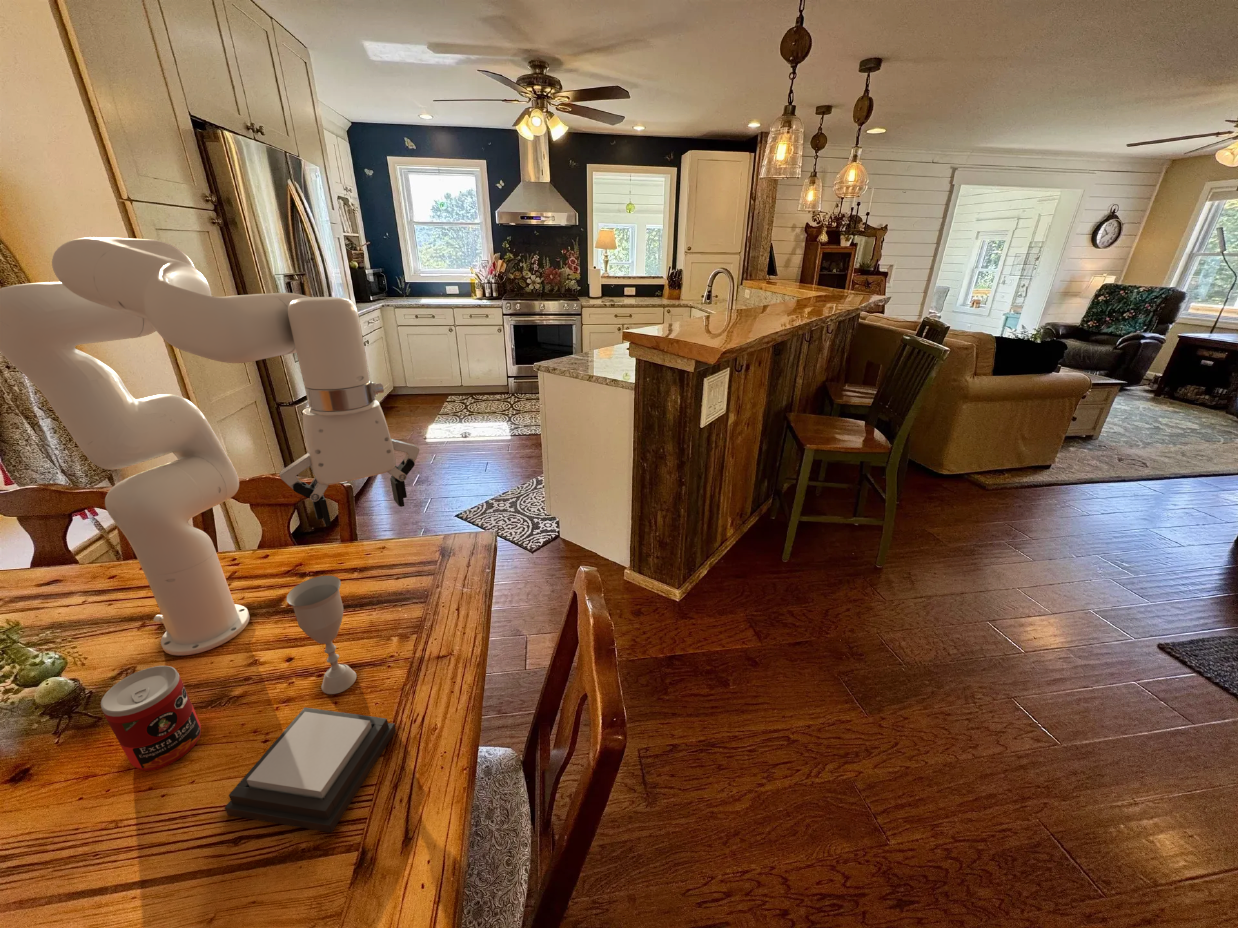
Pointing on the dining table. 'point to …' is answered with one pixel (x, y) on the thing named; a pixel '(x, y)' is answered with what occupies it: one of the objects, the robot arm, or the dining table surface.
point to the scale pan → (310, 755)
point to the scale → (310, 809)
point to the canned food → (152, 717)
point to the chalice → (323, 624)
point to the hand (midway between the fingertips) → (364, 512)
